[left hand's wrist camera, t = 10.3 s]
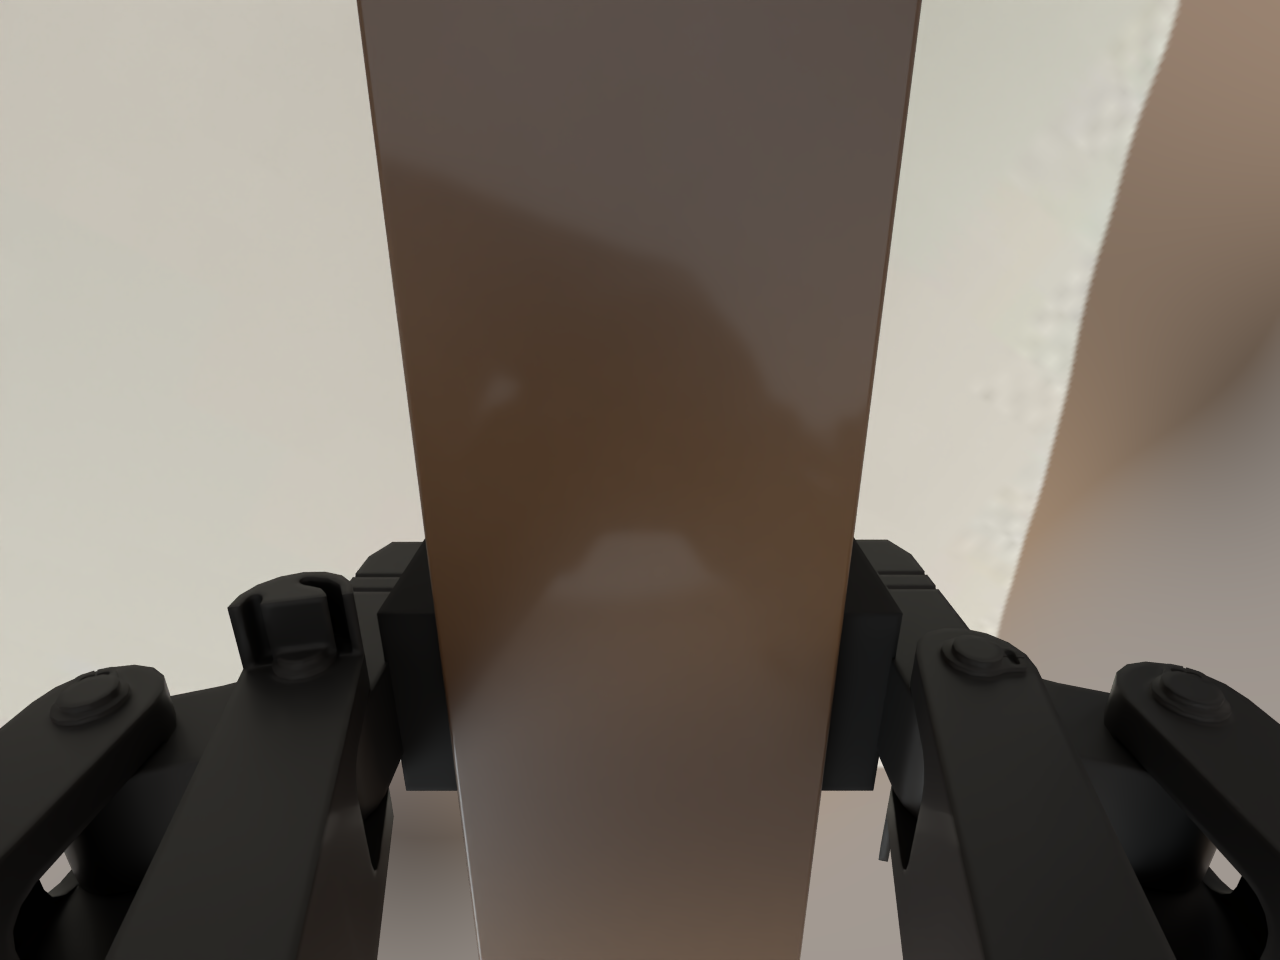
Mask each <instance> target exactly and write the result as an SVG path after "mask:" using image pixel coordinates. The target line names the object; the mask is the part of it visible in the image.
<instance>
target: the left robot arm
mask: <svg viewBox="0 0 1280 960" xmlns="http://www.w3.org/2000/svg"><path fill="white" fill-rule="evenodd" d="M924 572H925V571H924V570H923V569H922V568H921V566H920V565H919V564H918V562H917V561H916V560H915V559H914V557H913V556H912V555H911V554H910V553H908V552H907V551H905V550H903V549H902V548H900V547H898V546H897V545H895V544H894V543H892V542H890V541H889V540H855V538H853V546H852V554H851V562H850V570H849V578H848V586H847V593H846V601H845V609H844V617H843V625H842V633H841V641H840V648H839V656H838V664H837V672H836V680H835V688H834V696H833V704H832V711H831V719H830V727H829V735H828V743H827V751H826V759H825V766H824V774H823V782H822V790H821V791H863V790H864V791H873V789H874V783H875V777H876V771H877V765H878V759H879V757H880V759H881V762H882V764H883V766H884V769H885V771H886V773H887V776H888V778H889V780H890V782H891V785H892V786H891V791H890V797H889V803H888V808H887V814H886V820H885V825H884V830H883V836H882V841H881V847H880V854H879V860H882V861H888V858H889V853H890V850H891V858H892V867H893V876H894V884H895V893H896V901H897V910H898V919H899V928H900V936H901V944H902V953H903V960H1280V724H1279V723H1277V722H1276V721H1275V720H1274V719H1273V718H1271V717H1270V716H1269V715H1268V714H1266V713H1265V712H1264V711H1263V710H1261V709H1260V708H1259V707H1258V706H1256V705H1255V704H1254V703H1253V702H1251V701H1250V700H1249V699H1247V698H1246V697H1244V696H1243V695H1241V694H1240V693H1238V692H1237V691H1235V690H1234V689H1232V688H1231V687H1229V686H1227V685H1226V684H1224V683H1222V682H1219V681H1217V680H1215V679H1213V678H1210V677H1208V676H1206V675H1205V674H1203V673H1201V672H1199V671H1196V670H1193V669H1189V668H1186V669H1185V668H1183V666H1178V665H1173V664H1163V663H1154V662H1140V663H1134V664H1127V665H1126V666H1124V667H1123V668H1122V669H1120V670H1119V671H1118V672H1117V673H1116V676H1115V679H1114V682H1113V685H1112V689H1111V692H1110V693H1107V692H1102V691H1096V690H1091V689H1086V688H1081V687H1076V686H1071V685H1066V684H1061V683H1056V682H1052V681H1048V680H1044V679H1042V678H1041V676H1040V674H1039V672H1038V670H1037V668H1036V666H1035V665H1034V664H1033V663H1032V661H1031V660H1030V659H1029V658H1028V656H1027V655H1026V654H1025V653H1023V652H1021V651H1020V650H1019V649H1017V648H1016V647H1014V646H1013V645H1011V644H1010V643H1008V642H1006V641H1004V640H1001V639H999V638H996V637H994V636H992V635H989V634H987V633H982V632H978V631H973V630H970V629H969V628H968V627H967V625H966V624H965V623H964V622H963V620H962V619H961V618H960V616H959V615H958V614H957V613H956V611H955V610H954V609H953V607H952V606H951V605H950V604H949V602H948V601H947V600H946V598H945V597H944V596H943V595H942V593H941V592H940V591H939V589H936V588H935V587H936V586H935V584H934V583H933V582H932V580H931V579H930V578H929V577H928V575H925V574H924ZM228 612H229V616H230V619H231V623H232V627H233V631H234V635H235V639H236V642H237V646H238V650H239V654H240V658H241V661H242V665H243V671H242V673H241V675H240V677H239V679H238V681H237V682H236V683H232V684H228V685H224V686H219V687H214V688H209V689H204V690H199V691H194V692H189V693H184V694H179V695H174V696H170V694H169V690H168V687H167V684H166V681H165V678H164V675H163V674H161V673H160V672H159V671H157V670H156V669H155V668H153V667H146V666H139V665H129V666H119V667H109V668H104V669H99V670H98V671H96V672H94V671H92V672H89V673H86V674H82V675H80V676H78V677H76V678H75V679H73V680H71V681H69V682H66V683H64V684H62V685H60V686H57V687H55V688H54V689H52V690H51V691H49V692H48V693H46V694H45V695H43V696H41V697H40V698H38V699H37V700H35V701H34V702H32V703H31V704H30V705H29V706H27V707H26V708H25V709H24V710H22V711H21V712H20V713H19V714H17V715H16V716H15V717H14V718H13V719H11V720H10V721H9V722H8V723H6V724H5V725H4V726H3V727H1V728H0V960H377V955H378V947H379V938H380V929H381V921H382V912H383V903H384V895H385V886H386V877H387V869H388V860H389V851H390V842H391V834H392V825H393V809H392V803H391V797H390V792H389V785H390V783H391V781H392V778H393V776H394V773H395V771H396V769H397V767H398V764H399V762H400V760H401V762H402V767H403V774H404V780H405V786H406V790H407V791H457V783H456V775H455V767H454V760H453V752H452V744H451V736H450V728H449V720H448V713H447V705H446V697H445V689H444V681H443V673H442V665H441V658H440V650H439V642H438V634H437V626H436V618H435V611H434V603H433V595H432V587H431V579H430V571H429V564H428V556H427V548H426V540H425V539H424V541H423V542H392V543H390V544H388V545H387V546H385V547H384V548H382V549H380V550H379V551H377V552H376V553H374V554H372V555H371V556H369V557H368V558H367V560H366V561H365V562H364V564H363V565H362V566H361V567H360V569H359V570H358V571H357V573H356V576H355V577H353V578H352V579H351V580H350V581H349V580H347V579H346V578H345V577H343V576H342V575H337V574H333V573H328V572H302V573H297V574H292V575H287V576H281V577H278V578H275V579H272V580H270V581H267V582H264V583H261V584H258V585H256V586H255V587H253V588H251V589H250V590H248V591H246V592H244V593H243V594H241V595H239V596H238V597H237V598H236V599H235V600H234V601H233V602H232V603H231V605H230V606H229V607H228ZM1216 849H1218V850H1219V851H1220V852H1221V853H1222V854H1223V855H1224V857H1225V858H1226V859H1227V860H1228V861H1229V862H1230V863H1231V864H1232V865H1233V866H1234V868H1235V869H1236V870H1237V871H1238V872H1239V873H1240V874H1241V875H1242V877H1241V879H1240V881H1239V883H1238V885H1237V887H1236V888H1235V889H1234V890H1231V889H1230V888H1229V887H1228V886H1227V885H1226V884H1224V883H1223V882H1222V881H1221V880H1220V879H1219V878H1218V876H1217V875H1216V874H1215V873H1214V872H1213V871H1212V870H1211V868H1210V867H1209V865H1210V863H1211V860H1212V858H1213V856H1214V853H1215V851H1216ZM63 852H65V855H66V857H67V859H68V862H69V864H70V866H71V869H72V870H71V871H70V872H69V873H68V874H67V875H66V877H65V878H64V879H63V880H62V881H61V882H60V883H59V884H58V885H57V886H56V887H54V888H53V889H52V890H51V891H50V892H49V893H47V892H46V891H45V890H44V889H43V887H42V884H41V882H40V880H39V879H40V878H41V877H42V876H43V875H44V873H45V872H46V871H47V870H48V869H49V868H50V867H51V866H52V865H53V863H54V862H55V861H56V860H57V859H58V858H59V857H60V856H61V855H62V853H63Z"/></svg>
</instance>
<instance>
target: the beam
mask: <svg viewBox="0 0 1280 960" xmlns="http://www.w3.org/2000/svg"><path fill="white" fill-rule="evenodd" d="M921 3H922V0H357V7H358V15H359V23H360V31H361V39H362V46H363V54H364V62H365V70H366V78H367V86H368V93H369V101H370V109H371V117H372V125H373V133H374V140H375V148H376V156H377V164H378V172H379V180H380V187H381V195H382V203H383V211H384V219H385V227H386V235H387V242H388V250H389V258H390V266H391V274H392V282H393V289H394V297H395V305H396V313H397V321H398V329H399V336H400V344H401V352H402V360H403V368H404V376H405V383H406V391H407V399H408V407H409V415H410V423H411V430H412V438H413V446H414V454H415V462H416V470H417V477H418V485H419V493H420V501H421V509H422V517H423V524H424V532H425V540H426V548H427V556H428V564H429V571H430V579H431V587H432V595H433V603H434V611H435V618H436V626H437V634H438V642H439V650H440V658H441V665H442V673H443V681H444V689H445V697H446V705H447V713H448V720H449V728H450V736H451V744H452V752H453V760H454V767H455V775H456V783H457V791H458V799H459V807H460V814H461V822H462V830H463V838H464V846H465V853H466V861H467V869H468V877H469V885H470V893H471V901H472V908H473V916H474V924H475V932H476V940H477V948H478V955H479V960H800V955H801V947H802V939H803V932H804V924H805V916H806V908H807V900H808V892H809V884H810V877H811V868H812V861H813V853H814V845H815V837H816V829H817V822H818V813H819V806H820V798H821V790H822V782H823V774H824V766H825V759H826V751H827V743H828V735H829V727H830V719H831V711H832V704H833V696H834V688H835V680H836V672H837V664H838V656H839V648H840V641H841V633H842V625H843V617H844V609H845V601H846V593H847V586H848V578H849V570H850V562H851V554H852V546H853V538H854V530H855V523H856V515H857V507H858V499H859V491H860V483H861V475H862V468H863V460H864V452H865V444H866V436H867V428H868V420H869V412H870V405H871V397H872V389H873V381H874V373H875V365H876V357H877V350H878V342H879V334H880V326H881V318H882V310H883V302H884V294H885V287H886V279H887V271H888V263H889V255H890V247H891V239H892V232H893V224H894V216H895V208H896V200H897V192H898V184H899V176H900V169H901V161H902V153H903V145H904V137H905V129H906V121H907V114H908V106H909V98H910V90H911V82H912V74H913V66H914V58H915V51H916V43H917V35H918V27H919V19H920V11H921Z"/></svg>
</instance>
